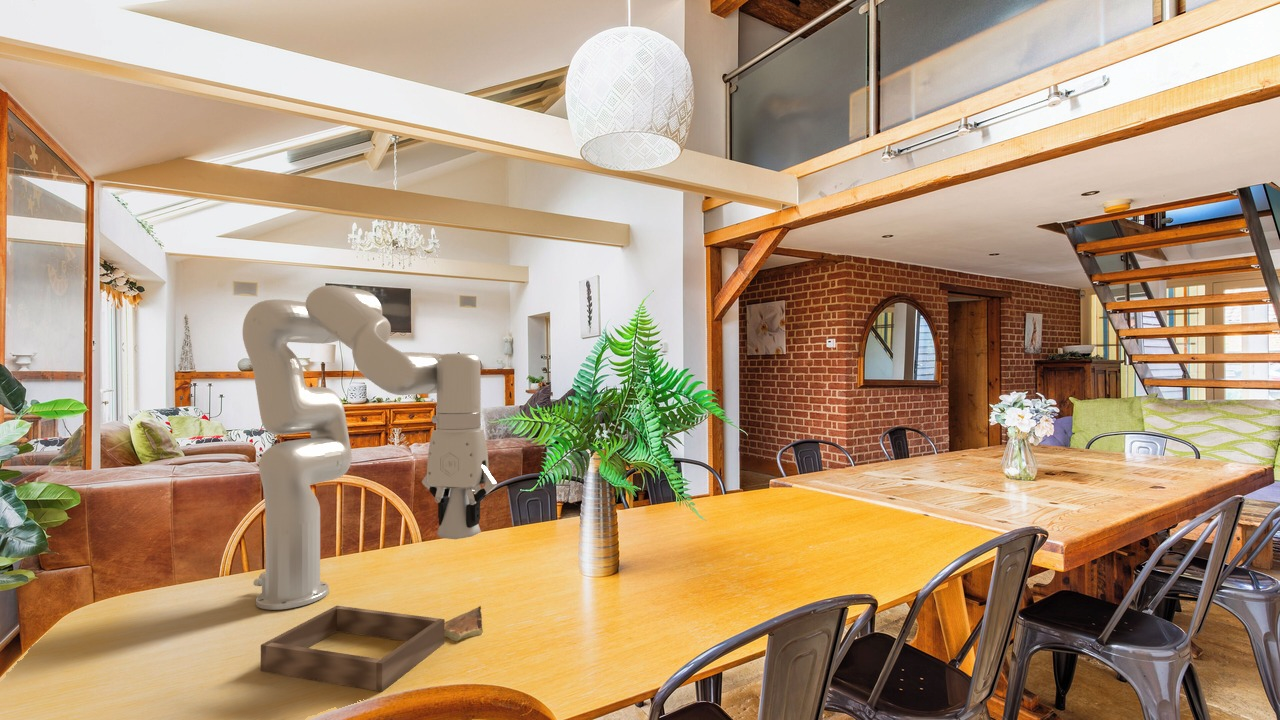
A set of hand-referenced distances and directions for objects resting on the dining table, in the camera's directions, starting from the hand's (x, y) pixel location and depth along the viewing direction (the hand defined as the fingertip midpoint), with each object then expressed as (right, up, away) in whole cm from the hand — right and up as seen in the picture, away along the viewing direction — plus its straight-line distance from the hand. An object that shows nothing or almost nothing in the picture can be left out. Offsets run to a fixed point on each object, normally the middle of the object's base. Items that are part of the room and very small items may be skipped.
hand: (459, 523), depth 103 cm
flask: (0, -2, 0) cm, 2 cm away
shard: (0, -19, 0) cm, 19 cm away
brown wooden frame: (-13, -18, -11) cm, 25 cm away
